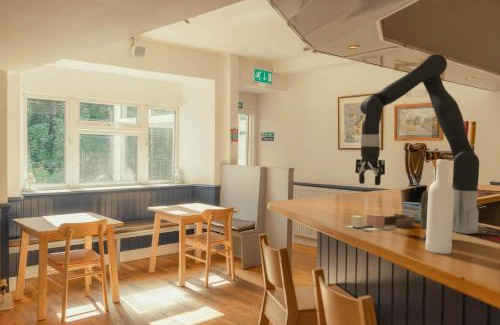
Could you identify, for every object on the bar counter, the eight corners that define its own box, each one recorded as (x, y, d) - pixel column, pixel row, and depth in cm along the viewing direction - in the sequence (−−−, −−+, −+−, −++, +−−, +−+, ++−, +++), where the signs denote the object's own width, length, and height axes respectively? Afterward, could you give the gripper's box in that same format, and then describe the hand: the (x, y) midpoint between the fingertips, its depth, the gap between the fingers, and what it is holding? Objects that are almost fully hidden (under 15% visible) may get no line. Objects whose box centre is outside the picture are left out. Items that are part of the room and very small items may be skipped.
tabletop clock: (427, 234, 166) (430, 170, 165) (452, 237, 161) (455, 172, 160) (419, 240, 154) (422, 172, 153) (446, 244, 149) (450, 173, 148)
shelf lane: (416, 227, 181) (416, 217, 180) (363, 232, 166) (364, 220, 166) (396, 222, 190) (396, 213, 190) (344, 226, 176) (345, 216, 176)
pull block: (384, 227, 176) (384, 215, 175) (358, 229, 169) (359, 217, 169) (375, 225, 180) (375, 213, 180) (350, 227, 173) (350, 215, 173)
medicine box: (401, 220, 197) (402, 202, 197) (403, 219, 201) (403, 201, 201) (419, 222, 193) (420, 203, 193) (420, 221, 197) (421, 202, 197)
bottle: (422, 251, 137) (427, 159, 136) (427, 246, 144) (432, 158, 143) (449, 255, 133) (454, 160, 132) (453, 250, 139) (458, 160, 138)
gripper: (390, 145, 172) (389, 185, 173) (364, 145, 184) (363, 182, 185) (377, 145, 168) (376, 186, 169) (351, 145, 181) (350, 183, 181)
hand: (369, 184), depth 177 cm, fingers open, 8 cm apart
